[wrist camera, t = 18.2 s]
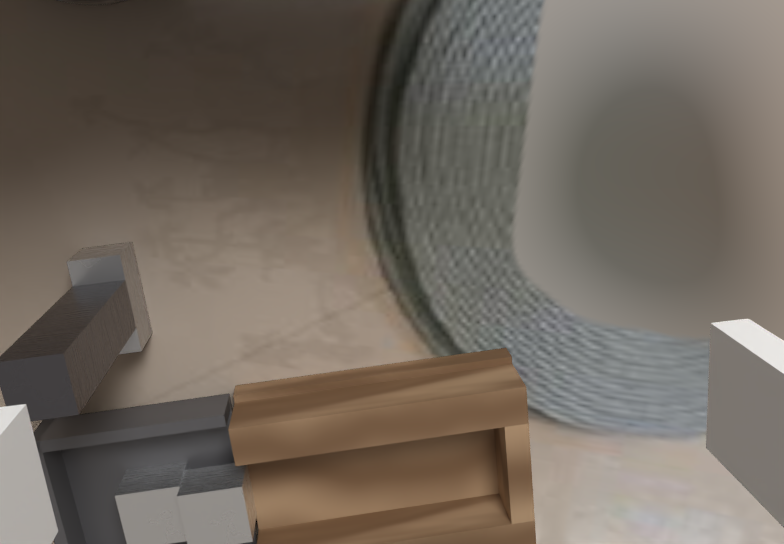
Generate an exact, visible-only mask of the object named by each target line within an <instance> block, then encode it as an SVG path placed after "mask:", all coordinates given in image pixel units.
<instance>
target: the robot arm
mask: <svg viewBox="0 0 784 544" xmlns="http://www.w3.org/2000/svg"><path fill="white" fill-rule="evenodd" d="M57 1H62V2H68V3H74V4H84V5H102V4H112V3H118V2H123V1H127V0H57ZM706 448H707V449H708V450H709V451H710V452H711V453H712V454H713V455H714V456H715V457H716V458H717V459H718V460H719V461H720V463H721V464H722V465H723V466H724V467H725V468H726V469H727V470H728V471H729V472H730V473H731V474H732V475H733V476H734V477H735V478H736V479H737V480H738V481H739V482H740V483H741V484H742V485H743V486H744V487H745V488H746V489H747V490H748V491H749V492H750V493H751V494H752V495H753V496H754V497H755V498H756V499H757V501H758V502H759V503H760V504H761V505H762V506H763V507H764V508H765V509H766V510H767V511H768V512H769V513H770V514H771V515H772V516H773V517H774V518H775V519H776V520H777V521H778V522H779V523H780V524H781V525H782V526H783V527H784V341H783V340H781V339H780V338H778V337H777V336H775V335H774V334H772V333H770V332H769V331H767V330H766V329H764V328H762V327H761V326H759V325H758V324H756V323H754V322H753V321H751V320H750V319H741V320H733V321H725V322H717V323H711V330H710V356H709V383H708V409H707V435H706ZM57 533H58V528H57V524H56V520H55V516H54V512H53V508H52V504H51V501H50V497H49V493H48V489H47V485H46V481H45V477H44V473H43V469H42V465H41V461H40V457H39V453H38V449H37V445H36V441H35V437H34V433H33V429H32V425H31V421H30V417H29V413H28V409H27V405H26V404H22V405H14V406H5V407H0V544H52V542H53V540H54V538H55V536H56V534H57Z"/></svg>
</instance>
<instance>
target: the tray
mask: <svg viewBox="0 0 784 544" xmlns="http://www.w3.org/2000/svg"><path fill="white" fill-rule="evenodd" d="M232 412H233V410H232V404H231V399H230V394H223V395H216V396H209V397H202V398H195V399H187V400H180V401H173V402H166V403H159V404H152V405H145V406H138V407H130V408H123V409H116V410H109V411H102V412H95V413H88V414H81V415H73V416H66V417H59V418H52V419H45V420H43V421H42V422H41V423H40V425H39V426H38V428H37V429H36V430H35V432H34V437H35V441H36V445H37V449H38V453H39V457H40V461H41V465H42V469H43V473H44V477H45V481H46V485H47V489H48V493H49V497H50V501H51V504H52V508H53V512H54V516H55V520H56V524H57V528H58V533H57V534H56V536H55V538H54V543H55V544H127V543H126V539H125V535H124V531H123V527H122V523H121V519H120V515H119V511H118V507H117V503H116V499H115V494H116V492H117V490H118V487H119V485H120V483H121V481H122V479H123V477H124V475H125V472H126V470H130V469H137V468H144V467H150V466H157V465H164V464H171V463H178V462H185V461H188V466H189V469H196V468H203V467H210V466H217V465H224V464H231V463H235V461H234V456H233V451H232V446H231V441H230V436H229V431H228V429H229V424H230V420H231V416H232ZM172 544H187V541H185V542H178V543H172ZM241 544H257V535H256V530H254V537H253V542H248V543H241Z"/></svg>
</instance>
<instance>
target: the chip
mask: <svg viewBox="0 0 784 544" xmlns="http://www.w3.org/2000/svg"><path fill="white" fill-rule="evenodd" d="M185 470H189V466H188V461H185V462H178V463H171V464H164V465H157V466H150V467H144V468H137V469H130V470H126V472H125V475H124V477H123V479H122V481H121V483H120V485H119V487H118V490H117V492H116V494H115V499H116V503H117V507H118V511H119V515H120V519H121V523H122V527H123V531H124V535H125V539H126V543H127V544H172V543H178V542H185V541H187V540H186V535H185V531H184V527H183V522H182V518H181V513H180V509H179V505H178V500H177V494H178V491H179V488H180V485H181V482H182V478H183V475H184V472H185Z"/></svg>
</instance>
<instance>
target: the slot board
mask: <svg viewBox="0 0 784 544" xmlns="http://www.w3.org/2000/svg"><path fill="white" fill-rule="evenodd" d="M233 397H234V402H235V403H234V408H233V412H232V416H231V420H230V424H229V429H228V431H229V436H230V441H231V446H232V451H233V456H234V461H235V466H242V465H248V470H249V475H250V481H251V486H252V491H253V496H254V502H255V507H256V512H257V516H256V518H257V523H258V528H259V531H258V539H257V544H536V535H535V519H534V503H533V487H532V471H531V455H530V439H529V423H528V408H527V392H526V386H525V384H524V382H523V381H522V379H521V378H520V376H519V374H518V373H517V371H516V369H515V368H514V366H513V364H512V357H511V355H510V353H509V352H508V350H507V349H506V348H501V349H494V350H487V351H480V352H473V353H466V354H458V355H451V356H444V357H437V358H430V359H423V360H416V361H408V362H401V363H394V364H387V365H380V366H373V367H365V368H358V369H351V370H344V371H337V372H330V373H323V374H315V375H308V376H301V377H294V378H287V379H280V380H272V381H265V382H258V383H251V384H244V385H237V386H236V387H235V391H234V395H233Z"/></svg>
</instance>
